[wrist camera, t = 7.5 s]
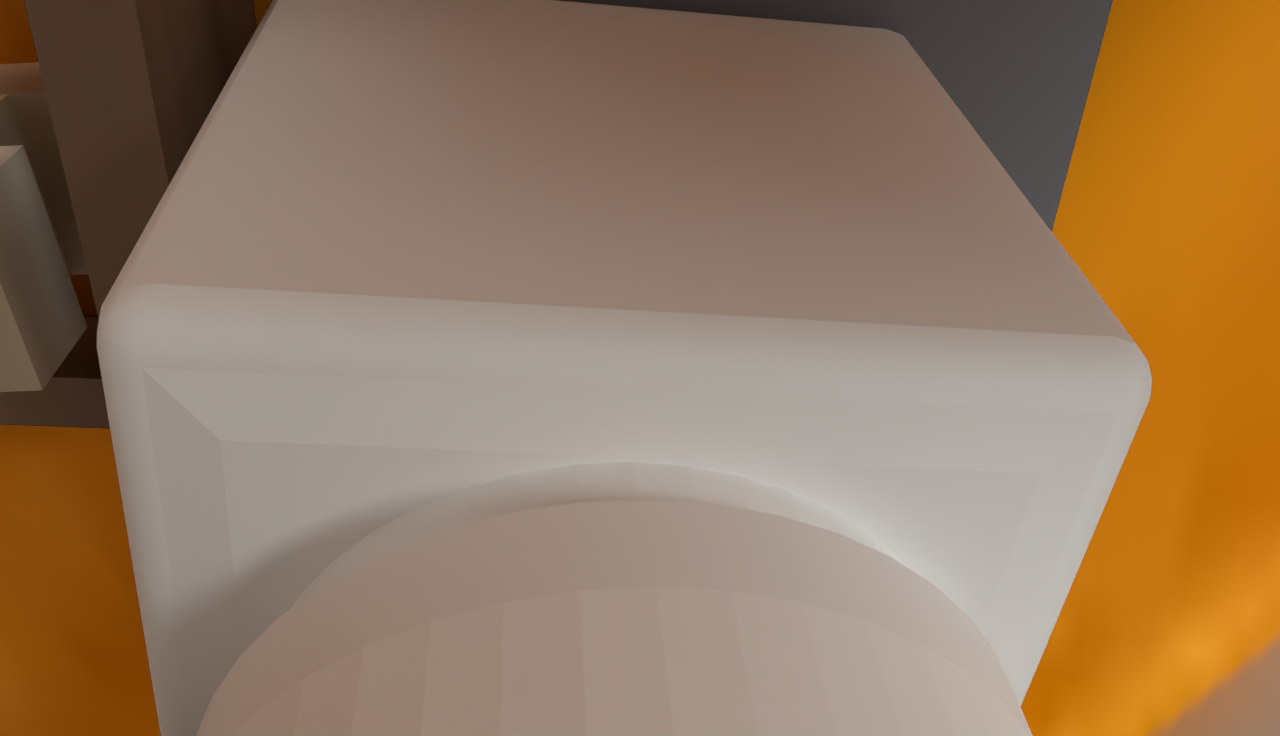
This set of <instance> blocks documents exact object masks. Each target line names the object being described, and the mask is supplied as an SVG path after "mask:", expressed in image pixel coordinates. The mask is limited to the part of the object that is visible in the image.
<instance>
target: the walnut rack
mask: <svg viewBox="0 0 1280 736" xmlns="http://www.w3.org/2000/svg"><path fill="white" fill-rule="evenodd" d="M24 2H25V6H26V11H27V15H28V19H29V24H30V28H31V32H32V36H33V41H34V45H35V49H36V53H37V58H38V62H39V66H40V71H41V75H42V79H43V83H44V88H45V92H46V96H47V101H48V105H49V109H50V113H51V118H52V122H53V126H54V130H55V135H56V139H57V143H58V148H59V152H60V156H61V160H62V165H63V169H64V173H65V177H66V182H67V186H68V190H69V195H70V199H71V203H72V207H73V212H74V216H75V220H76V224H77V229H78V233H79V237H80V242H81V246H82V250H83V254H84V259H85V263H86V267H87V271H88V276H89V280H90V284H91V289H92V293H93V297H94V301H95V306H96V310H97V314H98V317H93V316H84V319H85V321H86V324H87V329H86V330H85V331H84V333H83V334H82V336H81V337H80V338H79V340H78V341H77V343H76V344H75V345H74V347H73V348H72V350H71V351H70V352H69V354H68V355H67V357H66V358H65V359H64V361H63V362H62V364H61V365H60V367H59V368H58V369H57V371H56V372H55V374H54V375H53V376H52V378H51V379H50V381H49V382H48V383H47V385H46V386H45V388H44V389H43V390H39V391H14V392H0V424H2V425H29V426H55V427H81V428H108V429H110V425H109V419H108V413H107V407H106V401H105V395H104V389H103V383H102V377H101V371H100V365H99V358H98V352H97V328H98V322H99V316H100V310H101V306H102V304H103V302H104V300H105V299H106V297H107V295H108V293H109V291H110V290H111V288H112V286H113V284H114V282H115V281H116V279H117V277H118V275H119V274H120V272H121V270H122V268H123V266H124V265H125V263H126V261H127V259H128V257H129V256H130V254H131V252H132V250H133V249H134V247H135V245H136V243H137V241H138V240H139V238H140V236H141V234H142V232H143V231H144V229H145V227H146V225H147V223H148V222H149V220H150V218H151V216H152V215H153V213H154V211H155V209H156V207H157V206H158V204H159V202H160V200H161V198H162V197H163V195H164V193H165V191H166V190H167V188H168V186H169V184H170V182H171V181H172V179H173V177H174V175H175V173H176V172H177V170H178V168H179V166H180V165H181V163H182V161H183V159H184V157H185V156H186V154H187V152H188V150H189V148H190V147H191V145H192V143H193V141H194V140H195V138H196V136H197V134H198V132H199V131H200V129H201V127H202V125H203V123H204V122H205V120H206V118H207V116H208V115H209V113H210V111H211V109H212V107H213V106H214V104H215V102H216V100H217V98H218V97H219V95H220V93H221V91H222V90H223V88H224V86H225V84H226V82H227V81H228V79H229V77H230V75H231V73H232V72H233V70H234V68H235V66H236V65H237V63H238V61H239V59H240V57H241V56H242V54H243V52H244V50H245V48H246V47H247V45H248V43H249V41H250V40H251V38H252V36H253V34H254V32H255V31H256V23H255V15H254V7H253V0H24Z"/></svg>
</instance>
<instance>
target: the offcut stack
mask: <svg viewBox="0 0 1280 736" xmlns="http://www.w3.org/2000/svg"><path fill="white" fill-rule="evenodd" d="M84 274H88V271H87V267H86V263H85V259H84V254H83V250H82V246H81V242H80V237H79V233H78V229H77V224H76V220H75V216H74V212H73V207H72V203H71V199H70V195H69V190H68V186H67V182H66V177H65V173H64V169H63V165H62V160H61V156H60V152H59V148H58V143H57V139H56V135H55V130H54V126H53V122H52V118H51V113H50V109H49V105H48V101H47V96H46V92H45V88H44V83H43V79H42V75H41V71H40V66H39V62H34V63H12V64H0V392H14V391H39V390H43V389H44V388H45V386H46V385H47V383H48V382H49V381H50V379H51V378H52V376H53V375H54V374H55V372H56V371H57V369H58V368H59V367H60V365H61V364H62V362H63V361H64V359H65V358H66V357H67V355H68V354H69V352H70V351H71V350H72V348H73V347H74V345H75V344H76V343H77V341H78V340H79V338H80V337H81V336H82V334H83V333H84V331H85V330H86V329H87V324H86V321H85V319H84V316H83V313H82V310H81V307H80V304H79V302H78V299H77V296H76V293H75V290H74V287H73V285H72V282H71V279H70V276H71V275H84Z"/></svg>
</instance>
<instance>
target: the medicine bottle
mask: <svg viewBox="0 0 1280 736" xmlns="http://www.w3.org/2000/svg"><path fill="white" fill-rule="evenodd" d="M97 352H98V358H99V365H100V371H101V377H102V383H103V389H104V395H105V401H106V407H107V413H108V419H109V425H110V431H111V437H112V443H113V449H114V455H115V461H116V467H117V474H118V480H119V486H120V492H121V498H122V504H123V510H124V516H125V522H126V528H127V534H128V540H129V546H130V552H131V558H132V564H133V570H134V576H135V583H136V589H137V595H138V601H139V607H140V613H141V619H142V625H143V631H144V637H145V643H146V649H147V655H148V661H149V667H150V673H151V679H152V686H153V692H154V698H155V704H156V710H157V716H158V722H159V728H160V734H161V736H1032V733H1031V731H1030V729H1029V726H1028V724H1027V721H1026V719H1025V717H1024V714H1023V712H1022V710H1021V704H1022V702H1023V700H1024V697H1025V695H1026V692H1027V690H1028V688H1029V685H1030V683H1031V681H1032V678H1033V676H1034V673H1035V671H1036V669H1037V666H1038V664H1039V661H1040V659H1041V657H1042V654H1043V652H1044V650H1045V647H1046V645H1047V642H1048V640H1049V638H1050V635H1051V633H1052V631H1053V628H1054V626H1055V623H1056V621H1057V619H1058V616H1059V614H1060V611H1061V609H1062V607H1063V604H1064V602H1065V600H1066V597H1067V595H1068V592H1069V590H1070V588H1071V585H1072V583H1073V581H1074V578H1075V576H1076V573H1077V571H1078V569H1079V566H1080V564H1081V562H1082V559H1083V557H1084V554H1085V552H1086V550H1087V547H1088V545H1089V542H1090V540H1091V538H1092V535H1093V533H1094V531H1095V528H1096V526H1097V523H1098V521H1099V519H1100V516H1101V514H1102V512H1103V509H1104V507H1105V504H1106V502H1107V500H1108V497H1109V495H1110V493H1111V490H1112V488H1113V485H1114V483H1115V481H1116V478H1117V476H1118V473H1119V471H1120V469H1121V466H1122V464H1123V462H1124V459H1125V457H1126V454H1127V452H1128V450H1129V447H1130V445H1131V443H1132V440H1133V438H1134V435H1135V433H1136V431H1137V428H1138V426H1139V423H1140V421H1141V419H1142V416H1143V414H1144V412H1145V409H1146V407H1147V404H1148V402H1149V400H1150V394H1151V385H1152V376H1151V372H1150V368H1149V364H1148V361H1147V359H1146V358H1145V356H1144V355H1143V353H1142V352H1141V350H1140V349H1139V347H1138V346H1137V344H1136V343H1135V342H1134V340H1133V339H1132V338H1131V336H1130V335H1129V334H1128V332H1127V331H1126V330H1125V329H1124V327H1123V326H1122V325H1121V323H1120V322H1119V321H1118V319H1117V318H1116V317H1115V315H1114V314H1113V313H1112V311H1111V310H1110V309H1109V307H1108V306H1107V305H1106V303H1105V302H1104V301H1103V299H1102V298H1101V297H1100V295H1099V294H1098V293H1097V291H1096V290H1095V289H1094V287H1093V286H1092V285H1091V283H1090V282H1089V281H1088V279H1087V278H1086V277H1085V275H1084V274H1083V273H1082V271H1081V270H1080V269H1079V268H1078V266H1077V265H1076V264H1075V262H1074V261H1073V260H1072V258H1071V257H1070V256H1069V254H1068V253H1067V252H1066V250H1065V249H1064V248H1063V246H1062V245H1061V244H1060V242H1059V241H1058V240H1057V238H1056V237H1055V236H1054V234H1053V233H1052V232H1051V230H1050V229H1049V228H1048V226H1047V225H1046V224H1045V222H1044V221H1043V220H1042V218H1041V217H1040V216H1039V214H1038V213H1037V212H1036V210H1035V209H1034V208H1033V207H1032V205H1031V204H1030V203H1029V201H1028V200H1027V199H1026V197H1025V196H1024V195H1023V193H1022V192H1021V191H1020V189H1019V188H1018V187H1017V185H1016V184H1015V183H1014V181H1013V180H1012V179H1011V177H1010V176H1009V175H1008V173H1007V172H1006V171H1005V169H1004V168H1003V167H1002V165H1001V164H1000V163H999V161H998V160H997V159H996V157H995V156H994V155H993V153H992V152H991V151H990V149H989V148H988V147H987V146H986V144H985V143H984V142H983V140H982V139H981V138H980V136H979V135H978V134H977V132H976V131H975V130H974V128H973V127H972V126H971V124H970V123H969V122H968V120H967V119H966V118H965V116H964V115H963V114H962V112H961V111H960V110H959V108H958V107H957V106H956V104H955V103H954V102H953V100H952V99H951V98H950V96H949V95H948V94H947V92H946V91H945V90H944V88H943V87H942V86H941V85H940V83H939V82H938V81H937V79H936V78H935V77H934V75H933V74H932V73H931V71H930V70H929V69H928V67H927V66H926V65H925V63H924V62H923V61H922V59H921V58H920V57H919V55H918V54H917V53H916V51H915V50H914V49H913V47H912V46H911V45H910V43H909V42H908V41H907V39H906V38H905V37H904V35H901V34H898V33H896V32H893V31H891V30H888V29H883V28H871V27H860V26H848V25H837V24H825V23H813V22H802V21H790V20H778V19H767V18H755V17H744V16H732V15H720V14H709V13H697V12H685V11H674V10H662V9H651V8H639V7H627V6H616V5H604V4H592V3H581V2H569V1H558V0H272V2H271V4H270V6H269V7H268V9H267V11H266V13H265V15H264V16H263V18H262V20H261V22H260V23H259V25H258V27H257V29H256V31H255V32H254V34H253V36H252V38H251V40H250V41H249V43H248V45H247V47H246V48H245V50H244V52H243V54H242V56H241V57H240V59H239V61H238V63H237V65H236V66H235V68H234V70H233V72H232V73H231V75H230V77H229V79H228V81H227V82H226V84H225V86H224V88H223V90H222V91H221V93H220V95H219V97H218V98H217V100H216V102H215V104H214V106H213V107H212V109H211V111H210V113H209V115H208V116H207V118H206V120H205V122H204V123H203V125H202V127H201V129H200V131H199V132H198V134H197V136H196V138H195V140H194V141H193V143H192V145H191V147H190V148H189V150H188V152H187V154H186V156H185V157H184V159H183V161H182V163H181V165H180V166H179V168H178V170H177V172H176V173H175V175H174V177H173V179H172V181H171V182H170V184H169V186H168V188H167V190H166V191H165V193H164V195H163V197H162V198H161V200H160V202H159V204H158V206H157V207H156V209H155V211H154V213H153V215H152V216H151V218H150V220H149V222H148V223H147V225H146V227H145V229H144V231H143V232H142V234H141V236H140V238H139V240H138V241H137V243H136V245H135V247H134V249H133V250H132V252H131V254H130V256H129V257H128V259H127V261H126V263H125V265H124V266H123V268H122V270H121V272H120V274H119V275H118V277H117V279H116V281H115V282H114V284H113V286H112V288H111V290H110V291H109V293H108V295H107V297H106V299H105V300H104V302H103V304H102V306H101V310H100V316H99V322H98V328H97Z"/></svg>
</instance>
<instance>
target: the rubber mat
mask: <svg viewBox="0 0 1280 736" xmlns="http://www.w3.org/2000/svg"><path fill="white" fill-rule="evenodd" d="M558 1H569V2H581V3H592V4H604V5H616V6H627V7H639V8H651V9H662V10H674V11H685V12H697V13H709V14H720V15H732V16H744V17H755V18H767V19H778V20H790V21H802V22H813V23H825V24H837V25H848V26H860V27H871V28H883V29H888V30H891V31H893V32H896V33H898V34H901V35H904V37H905V38H906V39H907V41H908V42H909V43H910V45H911V46H912V47H913V49H914V50H915V51H916V53H917V54H918V55H919V57H920V58H921V59H922V61H923V62H924V63H925V65H926V66H927V67H928V69H929V70H930V71H931V73H932V74H933V75H934V77H935V78H936V79H937V81H938V82H939V83H940V85H941V86H942V87H943V88H944V90H945V91H946V92H947V94H948V95H949V96H950V98H951V99H952V100H953V102H954V103H955V104H956V106H957V107H958V108H959V110H960V111H961V112H962V114H963V115H964V116H965V118H966V119H967V120H968V122H969V123H970V124H971V126H972V127H973V128H974V130H975V131H976V132H977V134H978V135H979V136H980V138H981V139H982V140H983V142H984V143H985V144H986V146H987V147H988V148H989V149H990V151H991V152H992V153H993V155H994V156H995V157H996V159H997V160H998V161H999V163H1000V164H1001V165H1002V167H1003V168H1004V169H1005V171H1006V172H1007V173H1008V175H1009V176H1010V177H1011V179H1012V180H1013V181H1014V183H1015V184H1016V185H1017V187H1018V188H1019V189H1020V191H1021V192H1022V193H1023V195H1024V196H1025V197H1026V199H1027V200H1028V201H1029V203H1030V204H1031V205H1032V207H1033V208H1034V209H1035V210H1036V212H1037V213H1038V214H1039V216H1040V217H1041V218H1042V220H1043V221H1044V222H1045V224H1046V225H1047V226H1048V228H1049V229H1050V230H1051V232H1052V228H1053V224H1054V220H1055V216H1056V213H1057V209H1058V205H1059V201H1060V198H1061V194H1062V190H1063V186H1064V182H1065V179H1066V175H1067V171H1068V167H1069V164H1070V160H1071V156H1072V152H1073V148H1074V145H1075V141H1076V137H1077V133H1078V130H1079V126H1080V122H1081V118H1082V114H1083V111H1084V107H1085V103H1086V99H1087V96H1088V92H1089V88H1090V84H1091V80H1092V77H1093V73H1094V69H1095V65H1096V62H1097V58H1098V54H1099V50H1100V46H1101V43H1102V39H1103V35H1104V31H1105V28H1106V24H1107V20H1108V16H1109V12H1110V9H1111V5H1112V1H1113V0H558Z"/></svg>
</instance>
